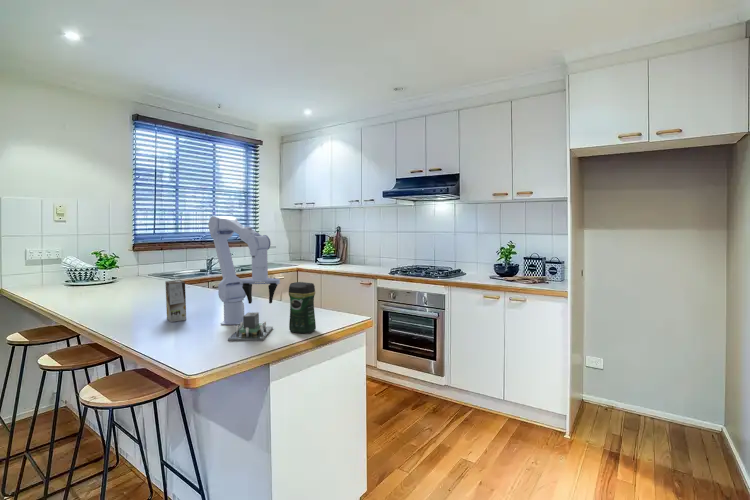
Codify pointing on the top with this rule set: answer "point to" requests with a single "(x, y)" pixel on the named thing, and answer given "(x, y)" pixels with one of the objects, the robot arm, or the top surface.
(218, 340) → the top surface
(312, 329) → the coffee jar
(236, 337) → the peg board with balls
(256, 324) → the grey block
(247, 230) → the robot arm
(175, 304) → the coffee box
